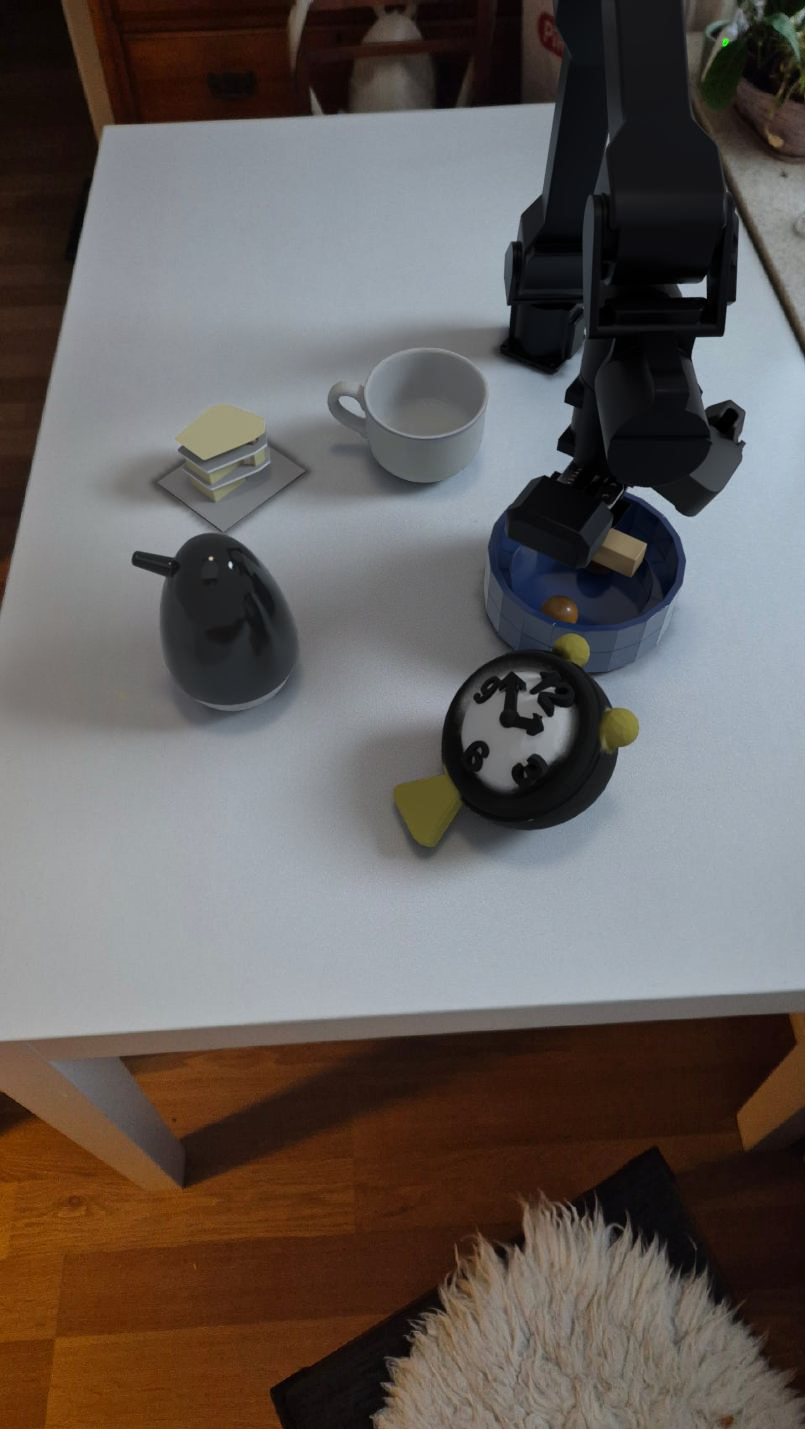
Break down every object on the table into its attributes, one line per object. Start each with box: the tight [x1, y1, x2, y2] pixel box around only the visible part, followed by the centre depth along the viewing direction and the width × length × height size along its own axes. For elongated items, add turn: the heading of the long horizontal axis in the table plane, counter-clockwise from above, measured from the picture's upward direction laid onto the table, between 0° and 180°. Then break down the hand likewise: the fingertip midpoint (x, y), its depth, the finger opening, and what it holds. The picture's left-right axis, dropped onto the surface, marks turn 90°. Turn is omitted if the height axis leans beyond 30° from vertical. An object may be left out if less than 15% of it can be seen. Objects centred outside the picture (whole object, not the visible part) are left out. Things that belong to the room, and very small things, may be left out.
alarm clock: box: [392, 633, 640, 848], centre depth 70 cm, size 12×15×15 cm
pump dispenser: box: [130, 532, 300, 712], centre depth 73 cm, size 10×10×15 cm
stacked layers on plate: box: [157, 403, 306, 533], centre depth 89 cm, size 10×9×6 cm
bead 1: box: [540, 595, 578, 624], centre depth 80 cm, size 3×3×3 cm
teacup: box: [326, 346, 489, 483], centre depth 89 cm, size 14×11×8 cm
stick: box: [592, 528, 647, 577], centre depth 77 cm, size 8×2×2 cm, turn 57°
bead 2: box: [584, 560, 613, 576], centre depth 83 cm, size 3×3×3 cm
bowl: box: [483, 491, 687, 673], centre depth 81 cm, size 15×15×6 cm
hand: (589, 539), depth 77 cm, fingers closed on stick, 2 cm apart
